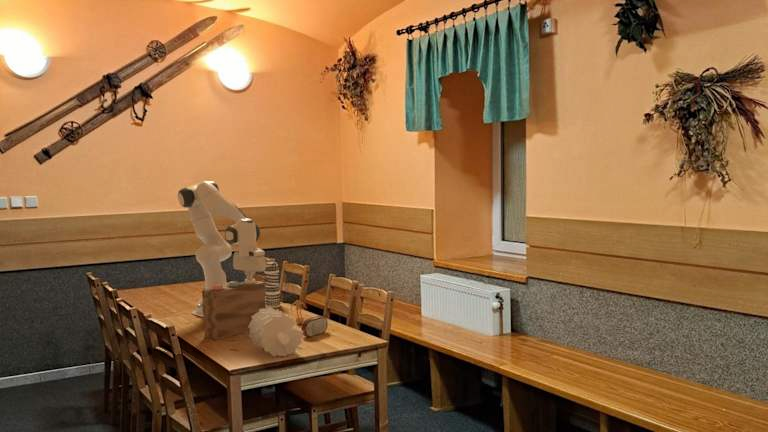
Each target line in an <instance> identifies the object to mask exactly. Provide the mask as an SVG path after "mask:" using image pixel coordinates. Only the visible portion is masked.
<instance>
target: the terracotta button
mask: <svg viewBox="0 0 768 432" xmlns="http://www.w3.org/2000/svg"><path fill="white" fill-rule="evenodd" d="M221 290H223V285H213V286H212V291H221Z"/></svg>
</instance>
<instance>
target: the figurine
mask: <svg viewBox="0 0 768 432" xmlns="http://www.w3.org/2000/svg"><path fill="white" fill-rule="evenodd" d="M301 304H302V305H303V306H304V307H305V309H307V308H308V307H307V306H306V304H305V303H304V302H301V301H300V300H299V299H297V300H296V301H294V302H293V303H292V304H291V306H290V311H292V309H293V306H294V305H296V306H295V311H296V315H297V317H296V318H295V323H296V324H298V325H302V324H303V322H304V321H305V318H304V317H303V316H302V311H303V310H302V306H300V305H301Z"/></svg>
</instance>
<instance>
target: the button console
mask: <svg viewBox="0 0 768 432" xmlns="http://www.w3.org/2000/svg"><path fill="white" fill-rule="evenodd" d="M264 283H265V281H256V280H255V283H254V284H250V285H249V284H245V281H244V282H239V287H235V288H230V287H229V284H228V285H226V286H223V290H221V291H212V289H208V290H205V289H202V291H201V293H202V294H201V295H202V297H201V298H203V317H202V318H203V330H204V333H203V334H204V338H208V339H214V340H222V339H226V338H229V337H230V338H231V337H233V336H236V335H239V334H244V333H247V332H250V328H248V326H249V324H250V322H251V321H252V317H251V316H253V315H255V314H256V313H258V312H259V309H267V307H266V298H265V297H266V296H265V295H266V287H265V284H264Z"/></svg>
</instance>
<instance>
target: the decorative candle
mask: <svg viewBox="0 0 768 432" xmlns="http://www.w3.org/2000/svg"><path fill="white" fill-rule="evenodd" d="M265 263H266V269H265V271H264V272H263V282H264V284H265V304H266V309H268V307H271V308H273V309H275V308H279V307H282V305H281V303H282V302H281V301H282V300H281V292H280V286H281V284H280V283H281V281H280V280H281V278H279V277H281V275H280V274H281V272H280V271H279V264H278V263H277V262H275V261H267V262H265Z"/></svg>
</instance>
